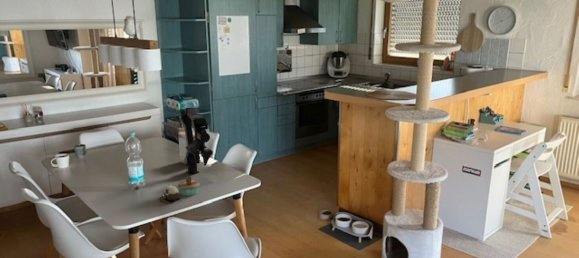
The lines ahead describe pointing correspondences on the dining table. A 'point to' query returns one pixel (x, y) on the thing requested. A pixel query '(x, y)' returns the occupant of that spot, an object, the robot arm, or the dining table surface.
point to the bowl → (189, 191)
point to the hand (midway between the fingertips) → (200, 163)
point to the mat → (204, 181)
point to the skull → (170, 195)
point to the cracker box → (183, 146)
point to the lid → (188, 184)
